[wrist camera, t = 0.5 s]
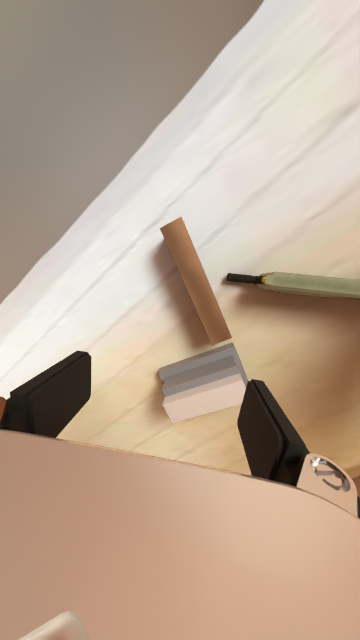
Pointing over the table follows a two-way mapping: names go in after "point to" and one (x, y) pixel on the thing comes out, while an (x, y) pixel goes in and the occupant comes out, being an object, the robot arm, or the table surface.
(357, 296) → the handheld radio
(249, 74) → the table surface
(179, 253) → the walnut bar
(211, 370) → the ridge stand
